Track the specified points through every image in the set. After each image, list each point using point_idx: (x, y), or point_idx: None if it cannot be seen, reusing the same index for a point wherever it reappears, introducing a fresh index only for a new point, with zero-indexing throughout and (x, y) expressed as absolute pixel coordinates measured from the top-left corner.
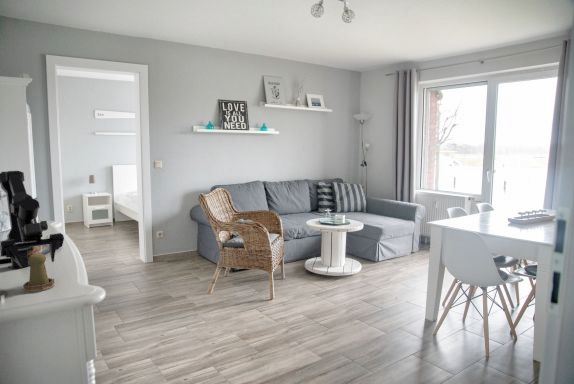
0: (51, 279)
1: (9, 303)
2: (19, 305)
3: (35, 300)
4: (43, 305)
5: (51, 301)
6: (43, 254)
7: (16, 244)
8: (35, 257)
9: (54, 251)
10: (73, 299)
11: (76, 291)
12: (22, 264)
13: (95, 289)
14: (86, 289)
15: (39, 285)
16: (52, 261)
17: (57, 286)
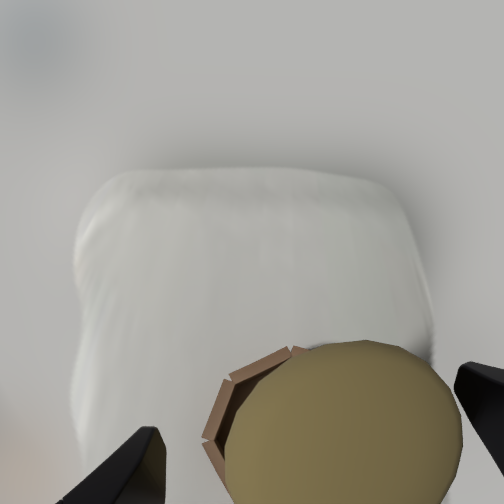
0: (218, 448)
1: (405, 256)
2: (363, 213)
3: (311, 233)
4: (281, 171)
5: (253, 191)
6: (254, 454)
7: None
8: (382, 345)
9: (66, 501)
10: (183, 174)
11: (144, 249)
12: (471, 368)
13: (87, 231)
14: (107, 251)
15: (299, 354)
16: (161, 439)
17: (198, 396)
